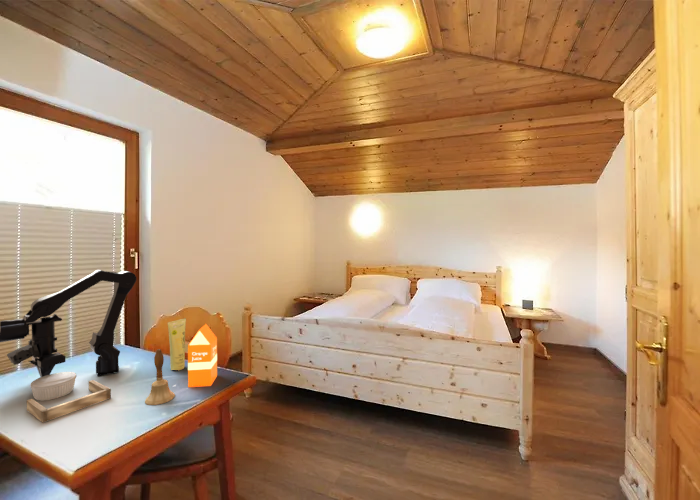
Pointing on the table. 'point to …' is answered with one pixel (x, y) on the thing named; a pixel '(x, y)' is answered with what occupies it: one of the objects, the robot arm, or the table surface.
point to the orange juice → (202, 358)
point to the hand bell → (159, 384)
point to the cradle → (70, 403)
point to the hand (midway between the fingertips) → (44, 380)
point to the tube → (177, 343)
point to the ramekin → (53, 385)
